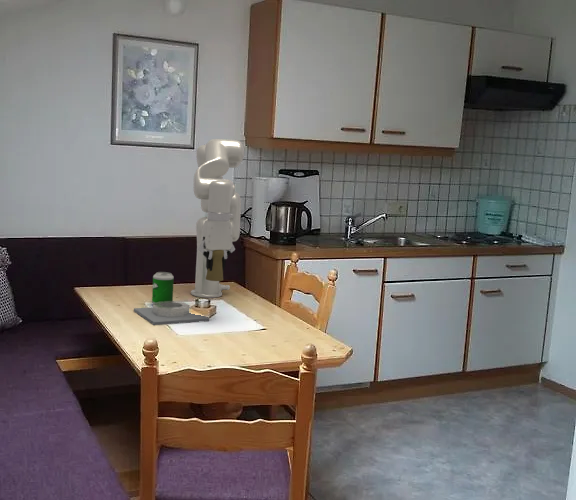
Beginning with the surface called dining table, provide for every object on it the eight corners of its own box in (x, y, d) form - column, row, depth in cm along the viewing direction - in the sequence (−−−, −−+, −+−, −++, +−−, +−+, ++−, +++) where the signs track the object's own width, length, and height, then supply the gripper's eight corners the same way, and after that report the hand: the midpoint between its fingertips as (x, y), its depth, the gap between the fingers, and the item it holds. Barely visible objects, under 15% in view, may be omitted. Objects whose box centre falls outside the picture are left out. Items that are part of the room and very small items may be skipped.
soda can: (174, 304, 267) (176, 272, 265) (169, 308, 259) (170, 276, 258) (155, 302, 267) (156, 271, 266) (149, 306, 260) (150, 274, 258)
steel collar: (179, 308, 256) (180, 300, 256) (192, 316, 246) (193, 307, 246) (149, 310, 250) (149, 302, 250) (161, 318, 240) (161, 309, 240)
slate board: (186, 307, 262) (186, 305, 262) (208, 321, 245) (209, 318, 245) (133, 311, 252) (133, 308, 251) (153, 325, 235) (153, 322, 235)
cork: (220, 281, 241) (223, 250, 240) (203, 279, 242) (205, 248, 241) (225, 279, 247) (227, 247, 246) (208, 277, 248) (210, 245, 247)
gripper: (234, 215, 249) (231, 267, 252) (191, 215, 240) (188, 268, 243) (245, 218, 243) (241, 271, 246) (201, 218, 234) (198, 273, 237)
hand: (215, 269), depth 244 cm, fingers closed on cork, 3 cm apart
